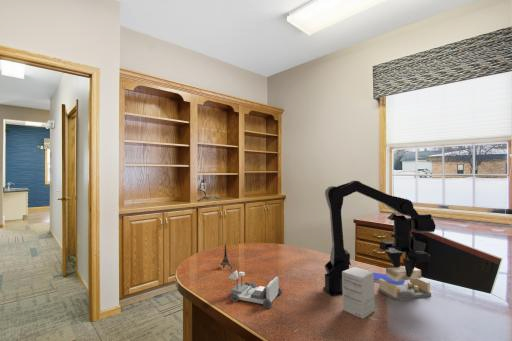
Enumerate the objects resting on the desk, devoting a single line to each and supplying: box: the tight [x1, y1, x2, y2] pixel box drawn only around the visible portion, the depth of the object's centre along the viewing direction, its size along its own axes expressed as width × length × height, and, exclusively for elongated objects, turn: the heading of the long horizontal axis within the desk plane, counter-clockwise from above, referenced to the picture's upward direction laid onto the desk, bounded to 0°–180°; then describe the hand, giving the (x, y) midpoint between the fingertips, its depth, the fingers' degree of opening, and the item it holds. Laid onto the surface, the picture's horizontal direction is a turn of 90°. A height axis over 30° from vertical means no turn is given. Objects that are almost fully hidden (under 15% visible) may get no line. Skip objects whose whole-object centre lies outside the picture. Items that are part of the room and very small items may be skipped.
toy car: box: [228, 269, 283, 309], centre depth 97 cm, size 18×10×12 cm
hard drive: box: [372, 271, 406, 286], centre depth 111 cm, size 2×8×12 cm
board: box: [385, 265, 422, 281], centre depth 99 cm, size 11×5×3 cm, turn 104°
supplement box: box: [342, 266, 376, 319], centre depth 86 cm, size 7×7×13 cm
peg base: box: [377, 278, 432, 302], centre depth 99 cm, size 15×9×4 cm, turn 104°
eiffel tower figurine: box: [220, 242, 232, 268], centre depth 129 cm, size 15×10×13 cm
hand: (403, 274), depth 99 cm, fingers closed on board, 5 cm apart
